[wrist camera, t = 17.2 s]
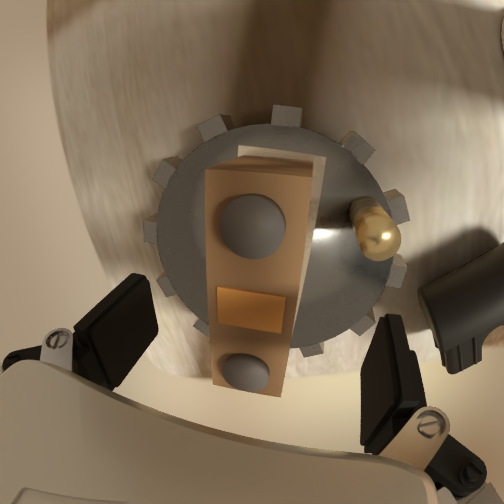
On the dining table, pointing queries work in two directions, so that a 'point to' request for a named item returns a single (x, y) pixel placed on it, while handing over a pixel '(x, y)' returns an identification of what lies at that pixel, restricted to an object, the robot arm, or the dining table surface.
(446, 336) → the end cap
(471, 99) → the dining table surface
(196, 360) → the dining table surface
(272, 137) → the sprocket
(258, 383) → the tan block with disc
